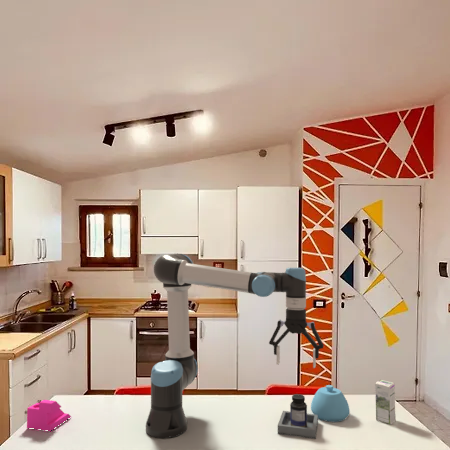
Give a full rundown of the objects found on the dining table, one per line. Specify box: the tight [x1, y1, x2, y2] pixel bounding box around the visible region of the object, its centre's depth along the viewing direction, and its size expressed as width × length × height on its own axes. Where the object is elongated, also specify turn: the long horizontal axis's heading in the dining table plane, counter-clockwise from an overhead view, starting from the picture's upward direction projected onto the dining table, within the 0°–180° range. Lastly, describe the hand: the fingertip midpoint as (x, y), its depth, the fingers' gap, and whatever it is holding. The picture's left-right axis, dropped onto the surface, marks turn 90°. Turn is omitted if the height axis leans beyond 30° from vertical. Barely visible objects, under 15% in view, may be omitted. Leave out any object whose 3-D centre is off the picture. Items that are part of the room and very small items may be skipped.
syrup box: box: [374, 379, 396, 425], centre depth 155 cm, size 6×6×14 cm
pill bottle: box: [289, 393, 308, 427], centre depth 148 cm, size 6×6×11 cm
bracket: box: [26, 399, 72, 432], centre depth 152 cm, size 12×10×10 cm
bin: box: [277, 410, 319, 440], centre depth 148 cm, size 13×13×3 cm
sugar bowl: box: [310, 384, 351, 423], centre depth 160 cm, size 15×15×12 cm
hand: (296, 365), depth 149 cm, fingers open, 13 cm apart
